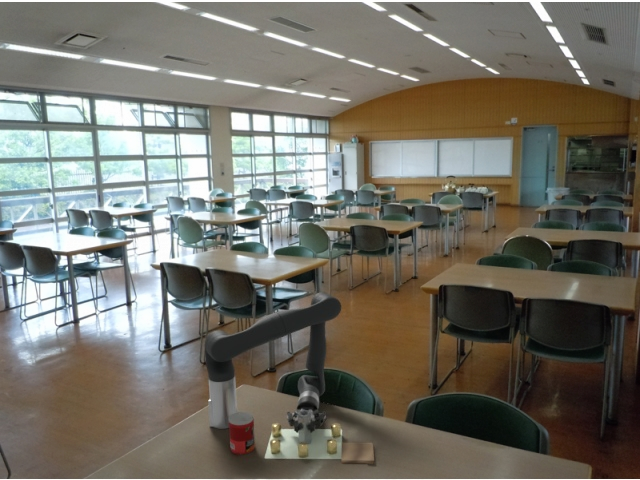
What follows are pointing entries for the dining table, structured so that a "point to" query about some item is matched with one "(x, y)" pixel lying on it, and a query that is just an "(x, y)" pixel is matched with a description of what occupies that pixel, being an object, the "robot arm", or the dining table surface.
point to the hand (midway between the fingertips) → (304, 429)
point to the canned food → (241, 433)
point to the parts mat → (315, 449)
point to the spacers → (303, 445)
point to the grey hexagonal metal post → (304, 426)
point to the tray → (357, 453)
